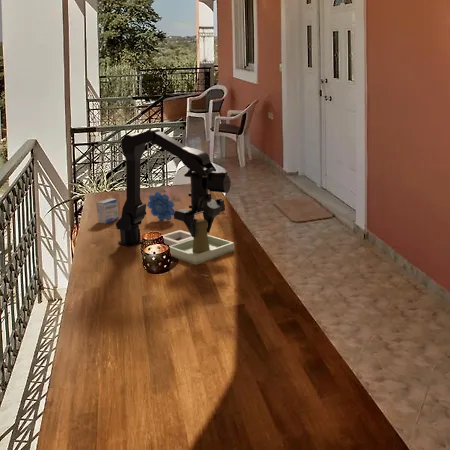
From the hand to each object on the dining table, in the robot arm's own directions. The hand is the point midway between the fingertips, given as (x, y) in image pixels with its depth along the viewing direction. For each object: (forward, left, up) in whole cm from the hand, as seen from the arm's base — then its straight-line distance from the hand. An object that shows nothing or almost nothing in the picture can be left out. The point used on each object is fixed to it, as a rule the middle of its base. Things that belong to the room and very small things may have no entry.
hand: (200, 234), depth 195 cm
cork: (0, 0, -6) cm, 6 cm away
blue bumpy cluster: (+15, +40, -7) cm, 43 cm away
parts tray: (0, 0, -6) cm, 6 cm away
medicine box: (+1, +57, -7) cm, 57 cm away
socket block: (+2, +14, -6) cm, 16 cm away
